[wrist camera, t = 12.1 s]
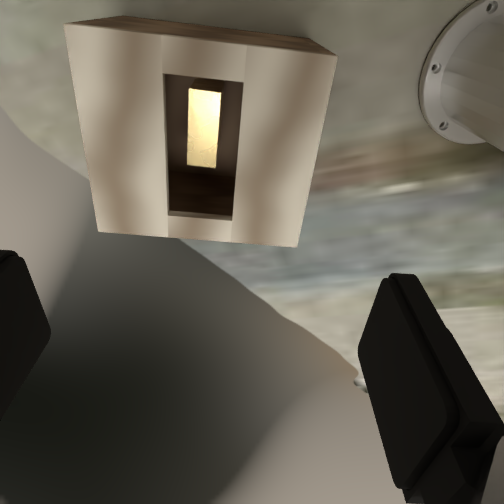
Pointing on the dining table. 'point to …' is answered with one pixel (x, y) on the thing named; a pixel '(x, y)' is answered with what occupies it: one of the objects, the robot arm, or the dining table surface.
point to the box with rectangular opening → (176, 127)
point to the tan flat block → (204, 121)
